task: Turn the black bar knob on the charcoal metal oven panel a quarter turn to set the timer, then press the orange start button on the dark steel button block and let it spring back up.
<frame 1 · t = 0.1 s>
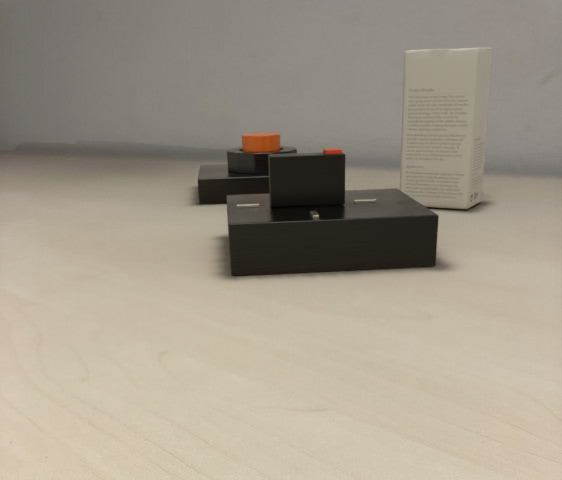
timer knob: (306, 177, 43), point 5 cm above the table, hinge at 0.0°
cosmetic box: (439, 206, 60), on the table
start button: (261, 143, 66), point 4 cm above the table, slide at 0.1 cm
button block: (262, 192, 68), on the table
oven panel: (322, 251, 45), on the table
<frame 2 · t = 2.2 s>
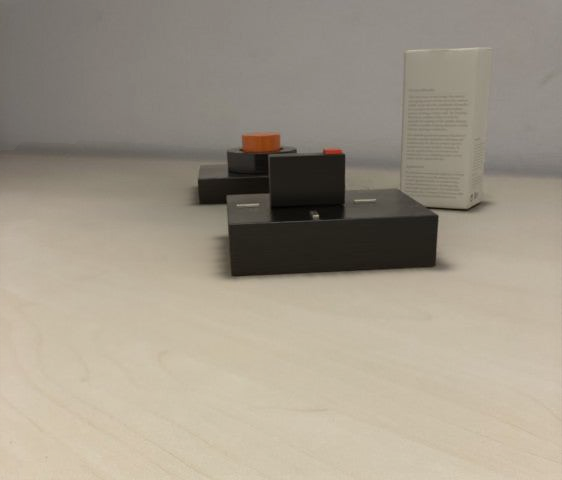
nothing on the table moved.
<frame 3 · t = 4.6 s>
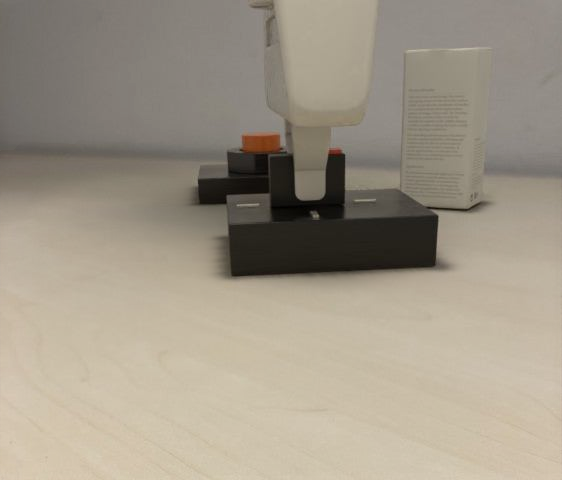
hand: (306, 194, 44), 4 cm above the table, tool pointing down, fingers closed on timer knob
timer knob: (306, 177, 43), point 5 cm above the table, hinge at 0.1°, touching gripper
everything else where it was.
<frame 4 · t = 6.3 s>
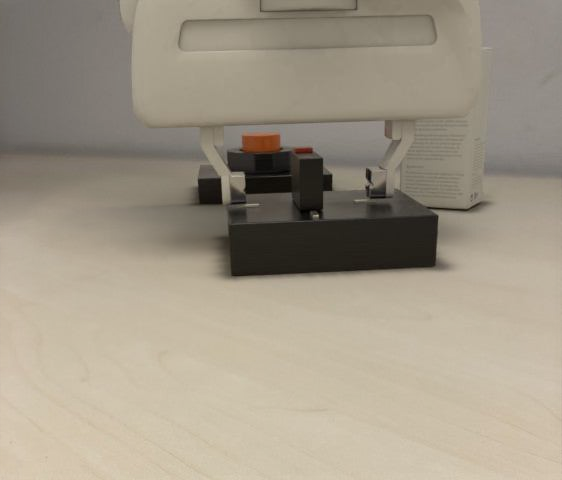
hand: (307, 200, 44), 3 cm above the table, tool pointing down, fingers open, 8 cm apart
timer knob: (306, 177, 43), point 5 cm above the table, hinge at 90.6°
everything else where it was.
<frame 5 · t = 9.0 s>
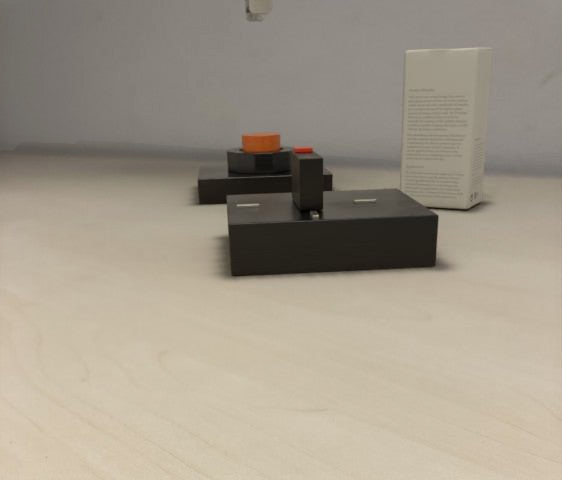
hand: (257, 18, 60), 15 cm above the table, tool pointing down, fingers open, 8 cm apart
nothing on the table moved.
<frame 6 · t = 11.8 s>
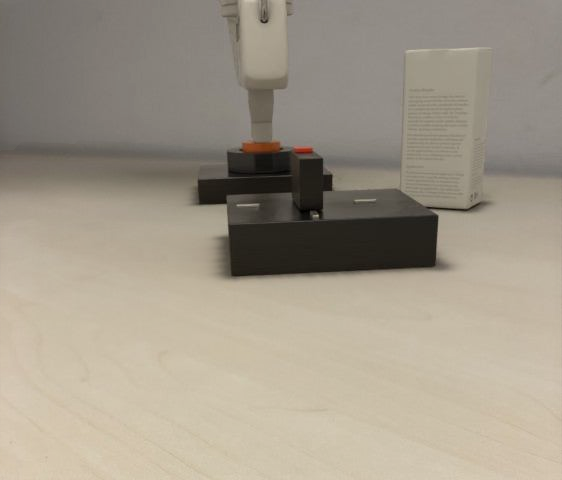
hand: (262, 141, 66), 5 cm above the table, tool pointing down, fingers closed, pressing on start button
start button: (261, 151, 66), point 4 cm above the table, slide at -0.6 cm, touching gripper
everything else where it was.
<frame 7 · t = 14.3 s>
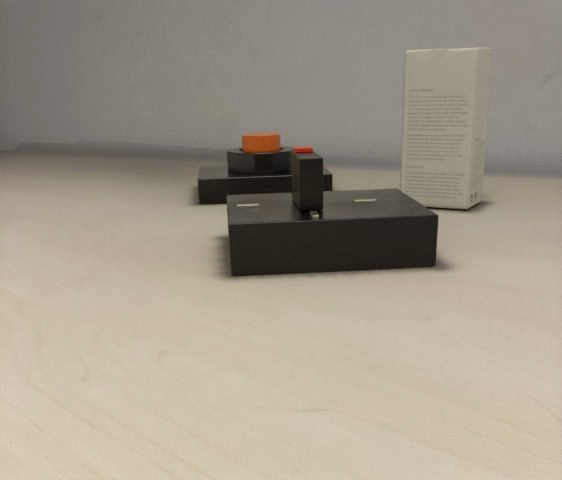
start button: (261, 143, 66), point 4 cm above the table, slide at 0.1 cm
everything else where it was.
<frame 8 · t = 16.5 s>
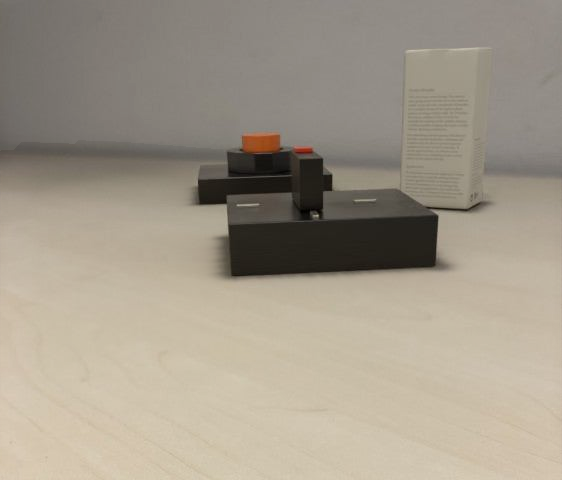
nothing on the table moved.
at the end: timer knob at +91° (first picture: +0°); start button pushed in 1.1 cm at the most during the clip, back to where it started at the end; start button slide at 0.1 cm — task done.
